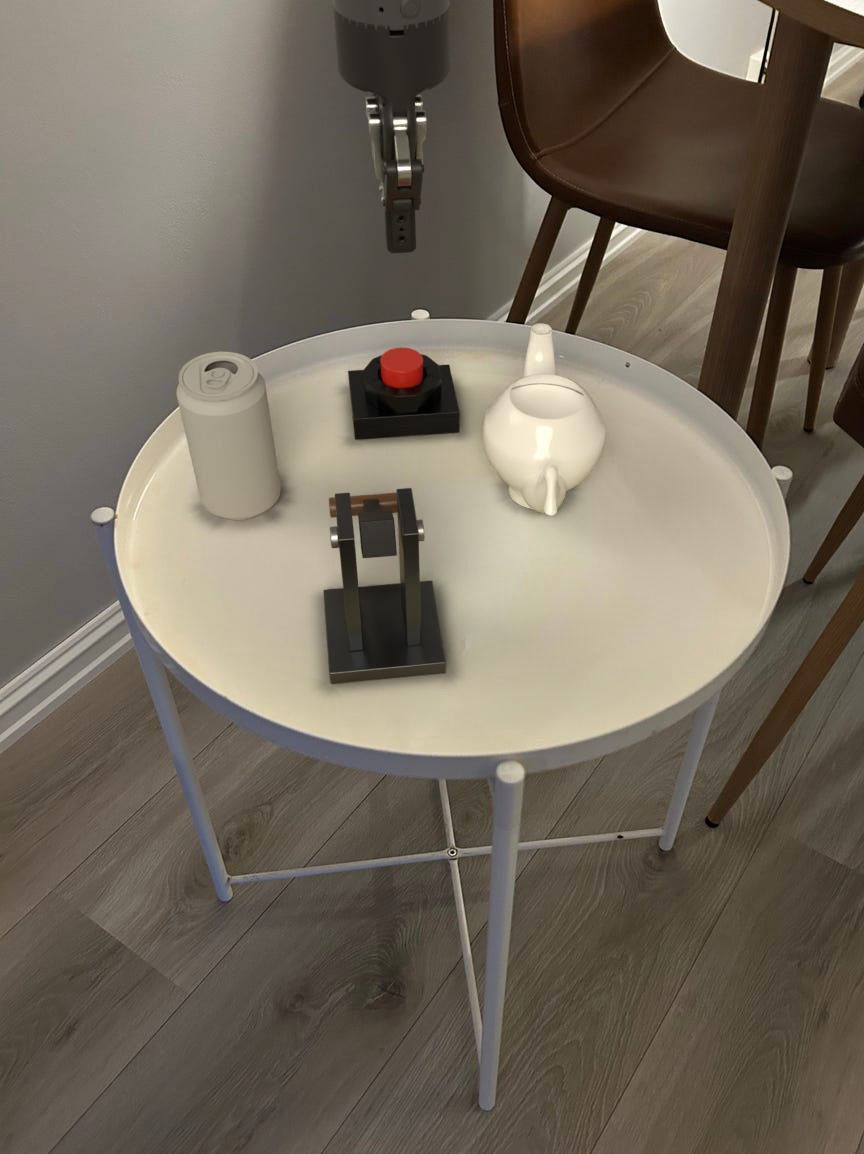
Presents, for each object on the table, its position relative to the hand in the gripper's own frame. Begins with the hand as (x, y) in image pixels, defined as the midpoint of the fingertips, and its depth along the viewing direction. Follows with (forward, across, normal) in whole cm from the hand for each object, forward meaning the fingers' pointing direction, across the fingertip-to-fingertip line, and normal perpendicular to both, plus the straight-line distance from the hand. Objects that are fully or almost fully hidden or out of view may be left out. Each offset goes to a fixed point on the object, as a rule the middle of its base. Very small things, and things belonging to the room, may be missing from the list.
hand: (400, 247), depth 82 cm
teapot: (+16, +11, +10) cm, 22 cm away
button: (+12, 0, 0) cm, 12 cm away
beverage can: (+16, +10, -14) cm, 23 cm away
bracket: (+15, +26, -4) cm, 30 cm away
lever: (+9, +23, -4) cm, 25 cm away
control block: (+16, 0, 0) cm, 16 cm away
